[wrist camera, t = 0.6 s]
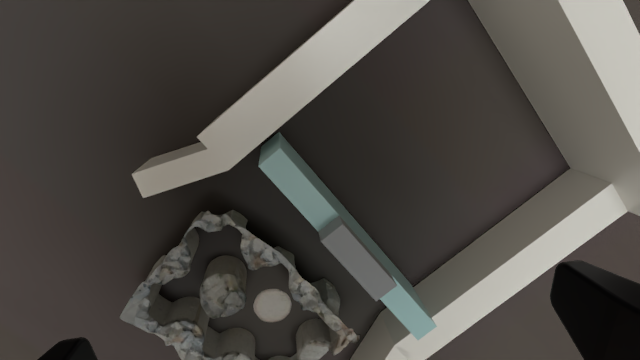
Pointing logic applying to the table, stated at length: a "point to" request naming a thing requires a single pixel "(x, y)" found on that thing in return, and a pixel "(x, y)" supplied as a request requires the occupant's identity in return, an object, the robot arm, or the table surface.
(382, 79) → the table surface
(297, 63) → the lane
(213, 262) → the egg carton
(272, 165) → the bar
